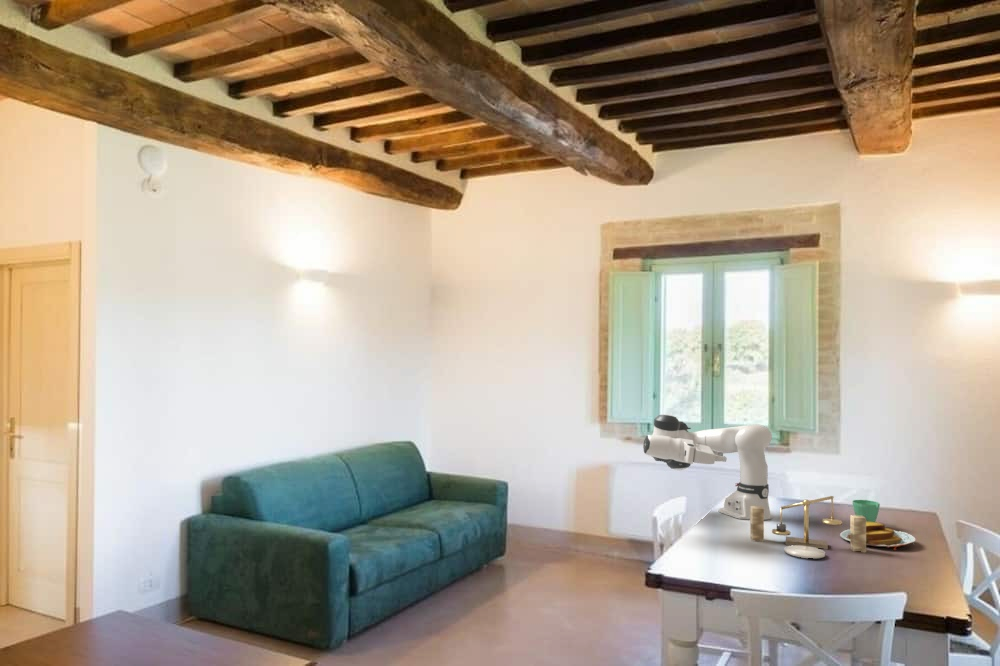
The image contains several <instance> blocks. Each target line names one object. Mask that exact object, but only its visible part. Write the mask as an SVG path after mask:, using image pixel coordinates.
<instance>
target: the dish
mask: <svg viewBox="0 0 1000 666" xmlns="http://www.w3.org/2000/svg"><path fill="white" fill-rule="evenodd" d="M784 553H785V554H787V555H790V556H792V557H796V558H800V557H801V559H808V558H813V559H822V558H824V557H826V552H825V551H824V549H818V548H814V547H809V546H800V545H793V546H790V545H786V546H785V547H784Z"/></svg>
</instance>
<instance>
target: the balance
mask: <svg viewBox="0 0 1000 666" xmlns="http://www.w3.org/2000/svg"><path fill="white" fill-rule="evenodd" d="M827 500H828V501H829V500H831V502H830V503H831V510H830V511H831V514H830V515H831V517H830V518H823V519H822V523H823V524H826V525H831V526H841V525H843V521H842V520H841V519H835V518H834V495H830V496H825V497H820V498H816V499H812V500H809V499H804V500H803V501H802V502H797V503H793V504H789V505H787V504H786V505H783V506H780V523H776V528H773V529H772V530H771V533H772V534H773V535H777V536H785V546H790V545H800V546H809V547H816V548H824V549H823V550H827V549H828V548H829V545H828V544H829V543H828V540H824V539H823V540H822V539H815V538H810V537H809V536H810V534H809V533H810V532H809V531H810V529H809V528H810V526H809V525H810V521H809V520H810V517H809V515H810V509H809V508H810V507H809V506H810V505H811V504H814V503H815V504H816V503H819V502H824V501H827ZM800 506H803V537H796V536H790V535H791V533H792V532H791V530H788V529H787V524H785V523H783V510H786V509H790V508H795V507H800Z"/></svg>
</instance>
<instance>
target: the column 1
mask: <svg viewBox="0 0 1000 666" xmlns="http://www.w3.org/2000/svg"><path fill="white" fill-rule="evenodd" d="M764 526H765V520H764V509H763V508H762V507H759V506H751V519H750V539H751V541H752V540H755V541H754V542H764V541H765V538H764V537H765V532H764V531H765V527H764Z"/></svg>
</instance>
